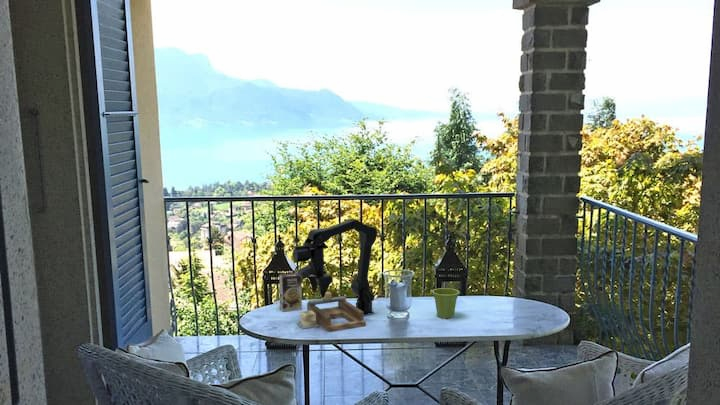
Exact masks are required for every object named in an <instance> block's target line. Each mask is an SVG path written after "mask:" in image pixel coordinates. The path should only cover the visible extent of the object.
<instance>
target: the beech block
mask: <svg viewBox="0 0 720 405" xmlns="http://www.w3.org/2000/svg"><path fill="white" fill-rule="evenodd" d="M300 322H301V324H302V325H303V326H304V327H307V326H314V325H316V323H317V322H316V314H315V313H314V312H313V311H312V310H311V311H307V310H305V311H300Z"/></svg>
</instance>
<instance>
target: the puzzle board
mask: <svg viewBox="0 0 720 405" xmlns="http://www.w3.org/2000/svg"><path fill="white" fill-rule="evenodd" d="M311 310H312V311H313V312H314V313H315V314H316V323H317V324H318V325H319V326H320V327H322V329H324V330H325V331H327V332H328V333H330V332H337V331H342V330H349V329H355V328H361V327H366V326H367V321H366V320H365V318H364V316H365V315H364V312H363V311H361V310H360V309H358V308H357V307H356V305H353V304H352V303H351V302H349V301H347V300H346V301H339V302H337V306H330V307H322V308H319V307H318V306H317V305H310V304H308V302H307V303H306V311H311ZM339 318H343V319H345V320H346V321H348V322H342V323H334V322H333V321H332V319H339Z"/></svg>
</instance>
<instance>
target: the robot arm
mask: <svg viewBox="0 0 720 405" xmlns="http://www.w3.org/2000/svg"><path fill="white" fill-rule="evenodd" d="M352 230H354V231H356V232H357V233H358V240H359V242H360V252H359V258H358V265H357V266H358V267H357V268H358V269H357V275H356V277H355V279H351V286H350V289H351V292H352V294H353V295H354V297H355V298H356V302H355V307H357V308H358V309H360V310H361V311H363V312H364V316H365V315H372V314H374V313H375V312H374V311H373V302H374V300H375V298H376V297H375V295H374V294H373V293H372V292H371V291H370V288H371V287H370V286H371V285H370V281H369V278H368V277H369V269H370V263H371V256H372V248H373V245H374V244H375V242H376V240H377V237H378V229H377V228H375V226H370V225H367V224H365V223H363V222H361V221H360V220H358V219H356V218H350V219H348V220H344V221H342V222H340V223H337V224H333V225H331V226H329V227H323V228H322V227H320V228H314V229H310V230H309V232H308V234H307V237H306V239H305V240H304V242H303V244H302V245H294V246H293V250H292V253H291V254H292V255H291V256H292V260H293V262H294V263H300V262H308V265H306V266H303V267H301V268H300V269H298V270H297V273H298V274H299V276H300V278H302V280H305V279H308V281H309V284H310V286H311V290H312V292H313V293H316V292H317V288H318V287H319V292H320V297H321V299H323V297H324V296H325V293H326V292H328V291H327V290H328V289H329V287H330V285H331V284H332V283H333V280H334V279H333V276H332V275H331V274H328V273H327V271H326V270H325V265H326V264H327V263H326V261H325V259H324V258H325V255H324V254H325V253H324V251H325V250H324V249H329V246H328V245H327V244H326V242H328V241H329V240H330V239H331V238H333V237H336V236H338V235H340V234H343V233H347V232H349V231H352Z"/></svg>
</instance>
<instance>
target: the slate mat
mask: <svg viewBox="0 0 720 405" xmlns="http://www.w3.org/2000/svg"><path fill="white" fill-rule="evenodd" d="M296 325H297V326H299V327H300V328H301V329H302V330H307V329H313V328H318V327H321V326H320V325H319V324H318V323H317V322H316V325H314V326H307V327H304V326H303V325H302V324H301V321H300V322H296Z"/></svg>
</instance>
